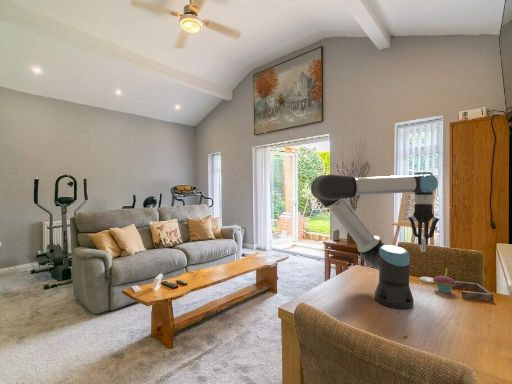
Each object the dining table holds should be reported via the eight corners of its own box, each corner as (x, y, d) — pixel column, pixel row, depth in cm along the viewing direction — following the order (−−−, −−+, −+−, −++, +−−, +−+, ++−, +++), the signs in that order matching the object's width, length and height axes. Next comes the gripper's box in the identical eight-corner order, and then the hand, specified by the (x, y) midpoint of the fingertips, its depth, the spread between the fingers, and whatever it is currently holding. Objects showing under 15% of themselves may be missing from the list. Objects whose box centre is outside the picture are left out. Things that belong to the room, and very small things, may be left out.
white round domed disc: (421, 282, 136) (421, 280, 136) (417, 277, 144) (417, 276, 144) (439, 284, 134) (439, 282, 134) (434, 279, 141) (434, 277, 141)
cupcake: (459, 294, 121) (459, 268, 121) (441, 294, 121) (441, 268, 121) (446, 287, 130) (446, 263, 130) (429, 287, 130) (429, 263, 130)
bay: (462, 298, 117) (462, 291, 117) (450, 286, 131) (450, 280, 131) (493, 301, 114) (493, 294, 113) (477, 289, 127) (477, 283, 127)
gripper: (409, 203, 126) (409, 252, 127) (442, 204, 122) (441, 254, 122) (406, 202, 133) (405, 248, 134) (436, 203, 129) (436, 250, 130)
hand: (422, 251), depth 128 cm, fingers closed
